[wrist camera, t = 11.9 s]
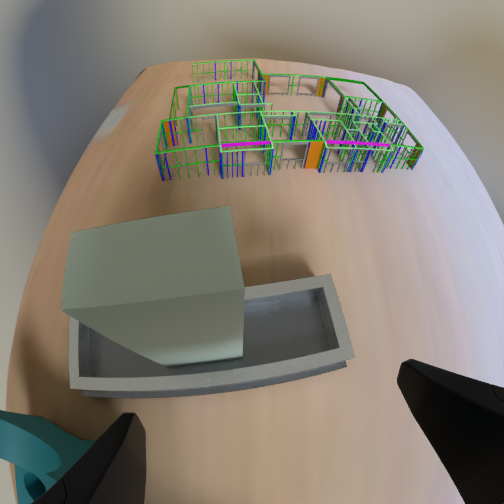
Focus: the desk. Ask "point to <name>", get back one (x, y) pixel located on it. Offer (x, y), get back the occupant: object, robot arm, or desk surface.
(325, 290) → the door track
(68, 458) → the teal curved piece
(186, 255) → the door panel
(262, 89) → the house model
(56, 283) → the desk surface
